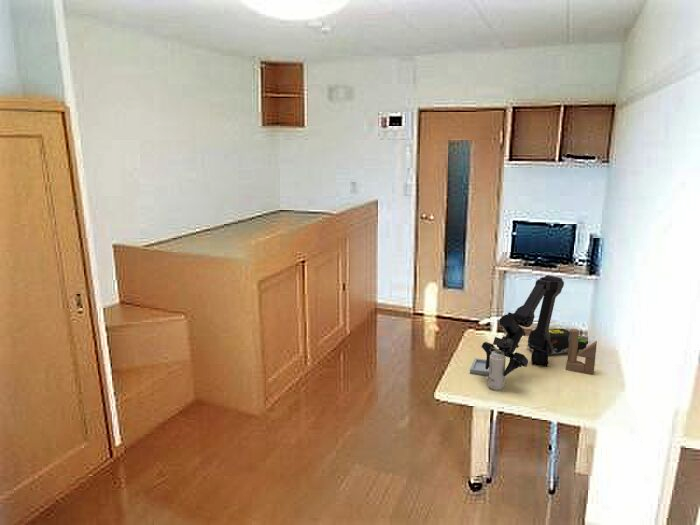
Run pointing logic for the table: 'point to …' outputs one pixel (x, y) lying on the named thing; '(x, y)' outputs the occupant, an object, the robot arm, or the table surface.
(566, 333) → the toy van
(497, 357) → the energy drink can
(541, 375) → the table surface
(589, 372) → the brown angular piece
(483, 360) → the tray
